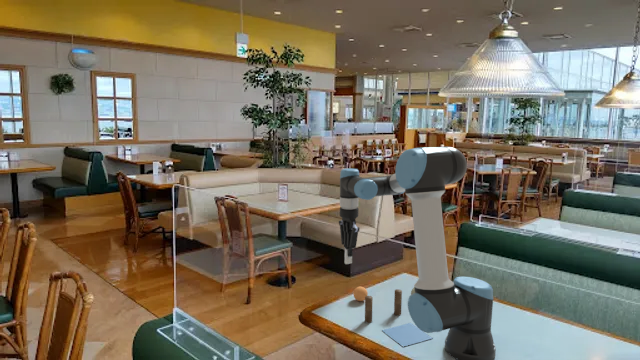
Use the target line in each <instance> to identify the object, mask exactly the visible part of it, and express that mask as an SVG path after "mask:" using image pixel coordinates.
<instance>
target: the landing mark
mask: <svg viewBox="0 0 640 360" xmlns="http://www.w3.org/2000/svg"><path fill="white" fill-rule="evenodd" d="M381 332H383V333H384V334H385V335H387V336H388V337H389V338H391V339H392V340H393V341H395V343H397V344H398V343H399V344H400V345H399V344H398V345H399V346H401V347H402V345H403V347H402V348H405V347H404V346H406V347H409V346H413V345H416V344H419V343H422V342H426V341H427V342H428V341H430V340H433V337H431V336H430V335H429V334H428V333H426V332H423V331H422V330H420V329H419V328H418V327H417V326H416V325H415V324H413V323H411V322H408V323H403V324H400V325H396V326H393V327H390V328H389V327H388V328H384V329H381ZM408 345H409V346H408Z"/></svg>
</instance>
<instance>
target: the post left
mask: <svg viewBox="0 0 640 360" xmlns="http://www.w3.org/2000/svg"><path fill="white" fill-rule="evenodd" d="M373 297H374V296H373V295H367V296H366V297H365V300H364V322H365V323H367V324H370V323H372V322H373Z"/></svg>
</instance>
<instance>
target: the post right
mask: <svg viewBox="0 0 640 360" xmlns="http://www.w3.org/2000/svg"><path fill="white" fill-rule="evenodd" d="M402 294H403V290H402V289H394V306H393V308H394V309H393V314H394V315H395V316H402V302H403V301H402V299H403V298H402V297H403V296H402Z"/></svg>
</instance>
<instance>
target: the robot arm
mask: <svg viewBox="0 0 640 360" xmlns="http://www.w3.org/2000/svg"><path fill="white" fill-rule="evenodd" d="M467 170H468V162H467V159H466V157H465V155H464V154H463V152H462V151H460V150H459V149H457V148H455V147H452V146H429V147H428V146H426V147H425V146H424V147H414V148H409V149H406V150H404V151H403V152H402V153H401V154H400V155H399V157H398V159H397V161H396V164H395V170H394V171H395V172H394V173H393V174H391V175H390V174H389V175H385V176H384V175H383V176H372V177H371V176H369V177H361V176H360V170H359V169H358V168H343V169H341V170H340V172H339V173H340V174H339V175H340V176H339V217H340V218H341V220H338V224H339V229H340V230H339V231H340V232H339V233H340V238H341V239H340V240H341V245H343V247H344V264H345V265H349V264H353V249H356V248H357V242H358V236H359V232H360V227H359V226H357V221H356V219H357V218H359V200H360V199H361V200H365V201H370V200H372V199H373V198H375V197H382V196H397V195H401V194H404V193H405V195H406V196H407V197H408V198H409V199H410V200H411V211H412V221H413V222H412V223H413V233H414V242H415V243H414V244H415V251H416V253H415V255H416V263H417V275H418V278H417V279H418V280H417V281H416V282H415V283H414V284H413V288H414V289H415V293H413V294H412V295H411V294H410V296H409V297H408V300H407V308H408V312H409V316H410V318H411V320H412V321H413V323H414V326H416V327H417V328H419V329H420V330H422V331H423V332H424V333H426V334H431V333H441V332H442V331H446V330H448V333H447V335H446V337H445V339H444V349H445V352H446V353H447V354H448V355H450V357H452V358H453V359H455V360H494V359H495V358H496V344H495V342H494V337H493V334H492V319H493V307H494V306H493V305H494V299H495V298H494V289H493V287H492V285H491V284H490V283H488V282H487V281H485V280H482V279H479V278H476V277H472V276H456V277H454V280H453V281H452V280H451V279H450V278H449V273H448V272H449V271H448V270H449V269H448V262H447V261H448V260H447V251H446V240H445V239H446V238H445V229H444V218H443V209H442V196H443V195H444V194H445V193H446V185H447V186H448V185H451V184H454V183H457V182H459V181H460V180H462V179H463V178H464V176H465V175H466V173H467Z"/></svg>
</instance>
